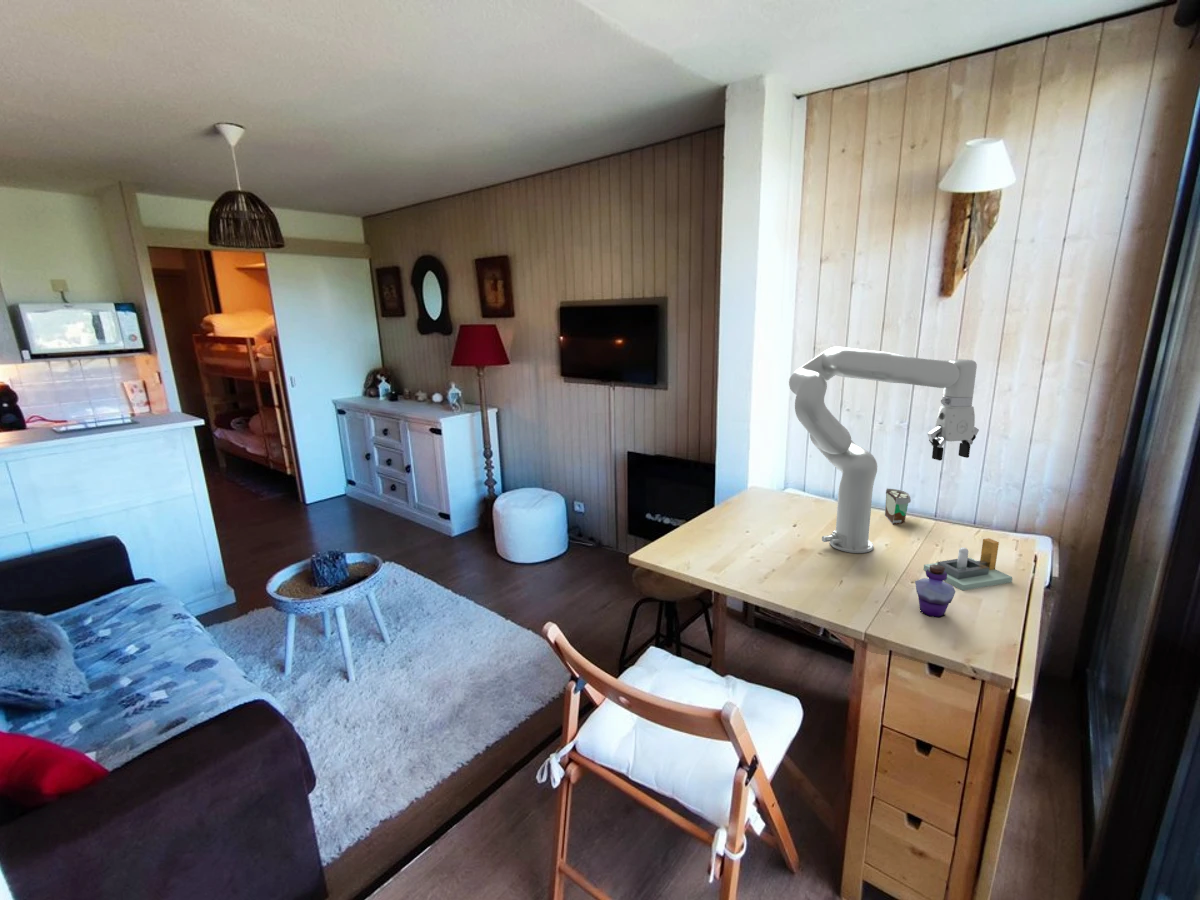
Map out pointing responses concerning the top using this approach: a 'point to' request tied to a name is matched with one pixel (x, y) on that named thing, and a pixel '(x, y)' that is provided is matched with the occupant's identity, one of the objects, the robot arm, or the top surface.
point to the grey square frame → (974, 562)
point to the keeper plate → (974, 582)
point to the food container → (896, 506)
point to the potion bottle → (934, 592)
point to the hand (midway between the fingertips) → (950, 458)
